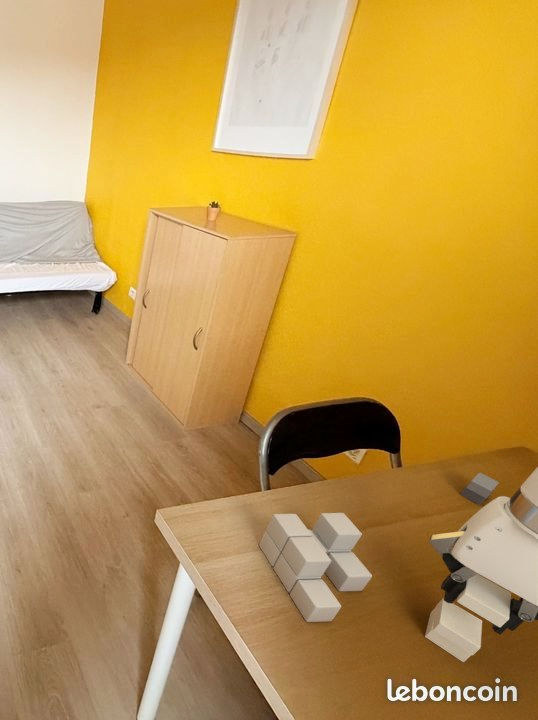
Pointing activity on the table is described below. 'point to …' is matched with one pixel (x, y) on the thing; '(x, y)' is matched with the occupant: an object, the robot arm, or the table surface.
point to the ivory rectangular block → (454, 630)
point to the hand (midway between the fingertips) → (472, 609)
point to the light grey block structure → (315, 561)
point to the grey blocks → (479, 488)
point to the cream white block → (486, 600)
